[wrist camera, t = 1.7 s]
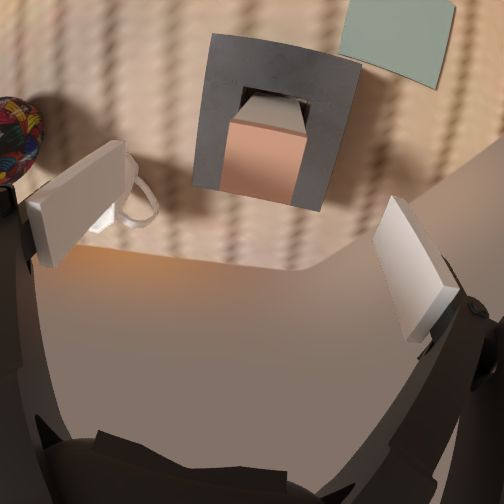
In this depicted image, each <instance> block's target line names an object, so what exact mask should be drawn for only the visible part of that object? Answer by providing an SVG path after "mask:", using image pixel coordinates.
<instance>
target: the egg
mask: <svg viewBox="0 0 504 504" xmlns="http://www.w3.org/2000/svg"><path fill="white" fill-rule="evenodd" d="M43 125H44V124H43V120H42V117H41V115H40V113H39V112H38V111H37V109H36V107H33V106H32V105H29V104H28V103H26V102H25V101H23V100H21V99H19V98H16V97H0V185H2V184H13V183H14V182H16V181H17V180H18V179H20V178H21V177H22V176H23V175H24V174H25V173H26V172H27V171H28V170H29V169H30V167H31V166H32V164H33V163H34V161H35V159H36V157H37V155H38V152H39V148H40V144H41V142H42V140H43V135H44V133H43V131H44V130H43V129H44V126H43Z"/></svg>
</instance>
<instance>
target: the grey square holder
mask: <svg viewBox="0 0 504 504" xmlns="http://www.w3.org/2000/svg"><path fill="white" fill-rule="evenodd" d="M361 67H362V64H360V63H357V62H354V61H350V60H347V59H344V58H340V57H337V56H333V55H330V54H326V53H322V52H318V51H314V50H310V49H306V48H302V47H297V46H293V45H288V44H283V43H278V42H272V41H267V40H261V39H254V38H248V37H240V36H233V35H224V34H214V33H212V37H211V42H210V48H209V54H208V60H207V67H206V73H205V80H204V86H203V93H202V101H201V108H200V116H199V124H198V132H197V140H196V149H195V158H194V168H193V178H192V186H196V187H201V188H207V189H212V190H218V191H219V190H220V183H221V176H222V169H223V162H224V156H225V149H226V143H227V136H228V130H229V124H230V121H231V120H232V119H233V118H234V117H235V115H236V114H237V113H238V112H239V111H240V109H241V108H242V107H243V106H244V105H245V100H246V95H247V90H248V87H250V88H256V89H261V90H266V91H272V92H277V93H281V94H286V95H291V96H295V97H299V98H304V99H308V101H307V105H306V109H305V113H304V117H303V121H304V125H305V130H306V134H307V142H306V145H305V149H304V153H303V157H302V161H301V165H300V169H299V173H298V176H297V180H296V184H295V188H294V192H293V195H292V199H291V203H290V205H291V206H295V207H300V208H304V209H308V210H313V211H317V212H320V209H321V206H322V203H323V200H324V197H325V194H326V190H327V187H328V184H329V181H330V178H331V174H332V171H333V168H334V164H335V161H336V158H337V154H338V151H339V148H340V144H341V141H342V137H343V134H344V130H345V127H346V123H347V120H348V116H349V113H350V109H351V105H352V102H353V98H354V94H355V91H356V87H357V83H358V79H359V75H360V71H361ZM281 204H282V203H281Z"/></svg>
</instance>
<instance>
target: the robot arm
mask: <svg viewBox="0 0 504 504" xmlns="http://www.w3.org/2000/svg"><path fill="white" fill-rule="evenodd" d="M124 192H125V141H118V140H111V141H110V142H108V143H106V144H105V145H103V146H101V147H100V148H98V149H97V150H95V151H93V152H92V153H90V154H89V155H87V156H86V157H84V158H83V159H81V160H80V161H78V162H77V163H75V164H74V165H72V166H71V167H69V168H68V169H66V170H65V171H64V172H62V173H61V174H59V175H58V176H57V177H55V178H54V179H52V180H50V181H48V182H47V183H45V184H44V185H42V186H41V187H40V189H37V190H36V191H35V192H34V193H32V194H31V195H29V196H28V197H27V198H26V199H24V200H23V201H22V202H21V203H19V204H18V203H17V198H16V193H15V188H14V185H12V184H2V185H0V504H429V503H430V501H431V499H432V497H433V496H434V493H435V491H436V489H437V481H436V480H435V479H433V478H432V474H433V472H434V470H435V468H436V466H437V464H438V462H439V460H440V458H441V456H442V454H443V452H444V450H445V448H446V446H447V444H448V442H449V439H450V437H451V435H452V433H453V430H454V428H455V426H456V423H457V421H458V418H459V416H460V418H459V424H458V431H457V436H456V441H455V447H454V452H453V456H452V461H451V465H450V470H449V473H448V478H447V481H446V485H445V488H444V492H443V496H442V499H441V502H440V504H504V316H503V317H502V319H501V320H500V321H499V323H497V322H495V321H493V320H491V319H489V313H488V311H487V309H486V308H485V306H484V305H483V304H482V303H481V302H480V301H479V300H477V299H475V298H473V297H471V296H467V295H466V293H465V291H464V289H463V287H462V286H461V284H460V282H459V280H458V278H456V277H457V276H456V275H455V273H454V272H453V270H452V268H451V266H450V264H449V263H448V261H447V260H446V259H445V258H444V257H443V256H442V255H441V254H440V253H439V251H438V249H437V248H436V246H435V244H434V243H433V241H432V240H431V238H430V237H429V235H428V233H427V232H426V230H425V229H424V227H423V225H422V224H421V222H420V221H419V219H418V218H417V216H416V215H415V213H414V212H413V210H412V209H411V208H410V206H409V205H408V203H407V202H406V200H405V199H403V198H400V197H397V196H393V195H391V197H390V200H389V202H388V205H387V207H386V210H385V212H384V215H383V217H382V220H381V222H380V224H379V227H378V229H377V231H376V234H375V236H374V238H373V241H372V242H373V245H374V247H375V250H376V252H377V255H378V258H379V261H380V263H381V266H382V269H383V272H384V275H385V278H386V281H387V284H388V287H389V290H390V293H391V296H392V299H393V302H394V305H395V308H396V312H397V315H398V318H399V321H400V325H401V328H402V331H403V335H404V339H405V341H409V342H418V343H421V342H422V341H423V340H424V339H425V337H426V336H427V335H428V333H429V332H430V334H431V337H432V341H431V342H430V344H429V345H428V346H427V347H426V348H425V350H424V351H423V352H422V353H421V354H420V356H419V357H418V358H417V359H418V360H419V362H418V363H417V365H416V367H415V369H414V370H413V372H412V374H411V375H410V377H409V378H408V380H407V382H406V383H405V385H404V387H403V388H402V390H401V391H400V393H399V394H398V396H397V397H396V399H395V400H394V402H393V403H392V405H391V406H390V408H389V409H388V411H387V412H386V413H385V415H384V416H383V418H382V419H381V420H380V422H379V423H378V425H377V426H376V427H375V429H374V430H373V431H372V433H371V434H370V435H369V437H368V438H367V439H366V441H365V442H364V443H363V444H362V446H361V447H360V448H359V450H358V451H357V452H356V453H355V454H354V456H353V457H352V458H351V459H350V460H349V461H348V463H347V464H346V465H345V466H344V467H343V469H342V470H341V471H340V472H339V473H338V474H337V475H336V476H335V477H334V478H333V479H332V480H331V481H330V482H328V483H327V484H326V485H325V486H323V487H322V488H321V489H320V490H319V491H318V492H317V493H316V494H315V495H314V494H313V493H312V492H310V491H309V490H307V489H305V488H303V487H302V486H299V485H297V484H295V483H293V482H290V481H287V471H276V470H266V469H257V468H249V467H241V466H238V467H224V468H204V469H203V468H202V469H190V468H186V467H183V466H181V465H179V464H177V463H175V462H173V461H171V460H169V459H167V458H165V457H163V456H161V455H159V454H157V453H156V452H154V451H152V450H150V449H149V448H147V447H145V446H143V445H141V444H138V443H135V442H132V441H129V440H125V439H123V438H120V437H117V436H114V435H111V434H108V433H105V432H103V431H100V430H98V433H97V435H96V438H95V439H93V438H90V439H89V438H88V439H87V438H81V439H72V438H71V436H70V433H69V432H68V430H67V428H66V426H65V424H64V422H63V420H62V417H61V415H60V411H59V408H58V405H57V401H56V398H55V394H54V390H53V387H52V383H51V379H50V375H49V370H48V366H47V361H46V357H45V352H44V347H43V341H42V336H41V330H40V324H39V317H38V310H37V302H36V293H35V283H34V273H33V272H34V271H33V264H32V260H31V258H32V256H33V255H34V254H35V253H37V256H38V260H39V263H40V265H42V266H45V267H49V268H52V269H55V268H56V267H57V266H58V264H59V263H60V262H61V261H62V260H63V258H64V257H65V256H66V255H67V254H68V252H69V251H70V250H71V249H72V248H73V247H74V245H75V244H76V243H77V242H78V241H79V240H80V239H81V237H82V236H83V235H84V234H85V233H86V232H87V231H88V230H89V229H90V227H91V226H92V225H93V224H94V223H95V222H96V221H97V220H98V219H99V218H100V217H101V216H102V214H103V213H104V212H105V211H106V210H107V209H108V208H109V207H110V206H111V205H112V204H113V203H114V202H115V201H116V200H117V199H118V198H119V197H120V196H121V195H122V194H123V193H124ZM494 371H495V372H494ZM493 372H494V373H493Z"/></svg>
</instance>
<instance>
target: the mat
mask: <svg viewBox="0 0 504 504" xmlns="http://www.w3.org/2000/svg"><path fill="white" fill-rule="evenodd" d="M454 7H455V5H454V4H452V3H451V2H449V1H447V0H350V3H349V8H348V12H347V17H346V21H345V25H344V30H343V34H342V38H341V43H340V47H339V51H338V54H342V55H345V56H348V57H352V58H355V59H358V60H361V61H364V62H367V63H370V64H373V65H376V66H379V67H381V68H384V69H387V70H390V71H392V72H395V73H397V74H400V75H402V76H405V77H407V78H410V79H412V80H415V81H417V82H419V83H421V84H424V85H426V86H428V87H430V88H433V89H435V88H436V85H437V81H438V77H439V74H440V70H441V66H442V62H443V58H444V54H445V50H446V46H447V41H448V37H449V32H450V28H451V23H452V18H453V12H454Z"/></svg>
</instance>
